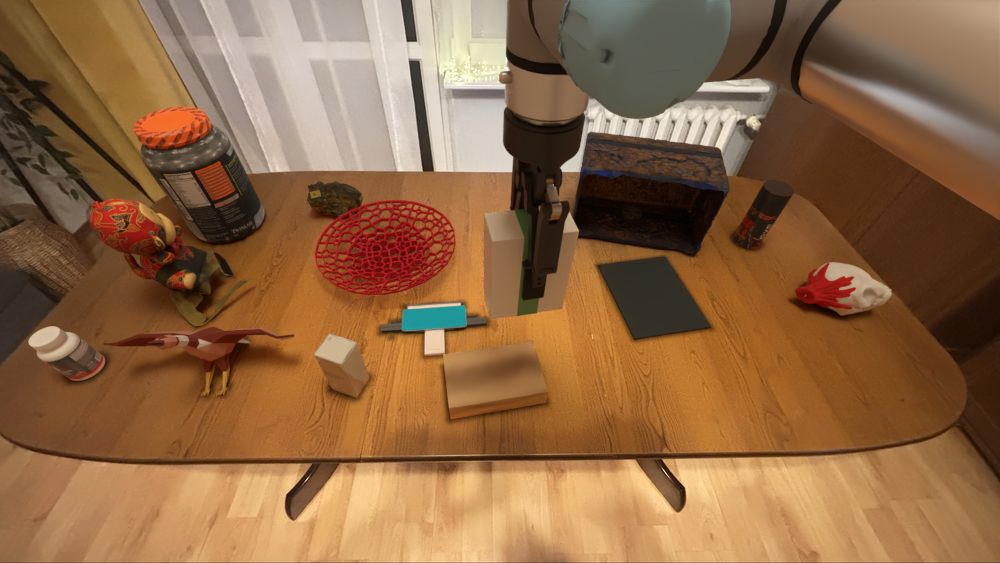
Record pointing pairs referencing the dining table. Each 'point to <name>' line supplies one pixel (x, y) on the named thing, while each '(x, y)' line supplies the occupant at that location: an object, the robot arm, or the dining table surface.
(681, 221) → the decorative box
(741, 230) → the deodorant
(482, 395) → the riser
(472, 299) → the dining table surface
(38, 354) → the pill bottle
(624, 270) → the mat
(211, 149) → the supplement tub
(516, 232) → the packet
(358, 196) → the rock
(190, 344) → the decorative bird
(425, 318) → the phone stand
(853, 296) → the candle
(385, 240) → the bowl
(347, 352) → the box
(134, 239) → the red patterned figure
